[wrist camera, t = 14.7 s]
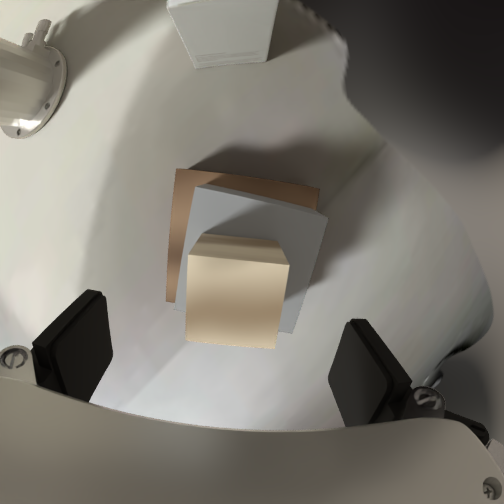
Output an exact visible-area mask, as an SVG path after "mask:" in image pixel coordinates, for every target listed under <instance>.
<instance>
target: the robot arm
mask: <svg viewBox="0 0 504 504" xmlns="http://www.w3.org/2000/svg"><path fill="white" fill-rule="evenodd" d="M51 23H52V22H51V21H50V20H47V19H43V20H40V21H39V23H38V25H37V28H36V30H35V35H34V34H33V33H26V34H25V36H24V39H23V42H22V46H19V45H17V44H14V43H12V42H10V41H7V40H5V39H2V38H0V126H1V129H2V130H3V132H4V133H5V134H6V135H7V136H8V137H10V138H15V139H24V138H27V137H29V136H31V135H33V134H34V133H36V132H37V131H38V130H39V129H40V128H42V127H43V125H44V124H45V123H46V122H47V121H48V119H49V118H50V116H51V115H52V114H53V112H54V110H55V108H56V107H57V105H58V103H59V100H60V98H61V96H62V93H63V90H64V86H65V82H66V76H67V65H66V60H65V58H64V56H63V54H62V53H61V52H60V51H59V50H57V49H56V48H54V47H50V46H45V44H46V42H45V41H44V39H45V36H46V35H47V33H48V30H49V28H50V25H51ZM33 36H34V37H33ZM32 38H33V40H32ZM32 345H33V348H32V349H31V350H29V349H28V348H26V347H24V346H20V345H13V346H9V347H7V348H5V349H3V350H2V351H1V352H0V504H504V445H502V444H500V443H499V442H497V441H496V440H494V439H492V440H491V441H489V434H488V431H487V430H486V428H485V427H484V425H482V424H481V423H478V422H476V421H473V420H470V419H468V418H465V417H462V416H460V415H457V414H454V413H452V412H449V411H447V410H445V400H444V398H443V396H442V395H441V394H440V393H439V392H438V391H437V390H435V389H433V388H431V387H427V386H419V387H415V388H414V389H412V388H411V387H410V385H411V383H412V380H411V378H410V377H409V376H408V374H407V373H406V372H405V370H404V369H403V367H402V366H401V365H400V363H399V362H398V361H397V359H396V358H395V357H394V355H393V354H392V353H391V351H390V350H389V349H388V347H387V346H386V345H385V343H384V342H383V341H382V339H381V338H380V337H379V335H378V334H377V333H376V331H375V330H374V329H373V327H372V326H371V325H370V324H369V322H368V321H367V320H366V319H351V320H350V322H347V323H346V325H345V328H344V331H343V334H342V337H341V340H340V343H339V346H338V349H337V352H336V355H335V358H334V361H333V364H332V366H331V369H330V372H329V375H328V382H329V385H330V387H331V390H332V392H333V395H334V398H335V400H336V403H337V405H338V408H339V411H340V413H341V416H342V418H343V421H344V424H345V426H346V427H341V428H329V429H313V430H248V429H231V428H219V427H209V426H200V425H192V424H185V423H178V422H172V421H166V420H160V419H154V418H149V417H144V416H140V415H135V414H131V413H126V412H122V411H118V410H114V409H110V408H107V407H103V406H99V405H96V404H93V403H89V400H90V398H91V396H92V395H93V393H94V391H95V389H96V387H97V385H98V384H99V382H100V380H101V378H102V376H103V375H104V373H105V371H106V369H107V368H108V366H109V364H110V362H111V360H112V357H113V350H112V343H111V336H110V329H109V321H108V312H107V301H106V297H105V296H103V294H102V292H101V291H95V290H90V289H87V290H86V291H85V292H84V293H83V294H81V295H80V296H79V297H78V298H77V299H76V300H75V301H74V302H73V303H72V304H71V305H70V306H69V307H68V308H67V309H65V310H64V311H63V312H62V313H61V314H60V315H59V316H58V317H57V318H56V319H55V320H54V321H53V322H52V323H51V324H50V325H49V326H48V327H47V328H46V329H45V330H44V331H43V332H42V333H41V334H40V335H39V336H38V337H37V338H36V339H35V340H34V341H33V342H32Z"/></svg>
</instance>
